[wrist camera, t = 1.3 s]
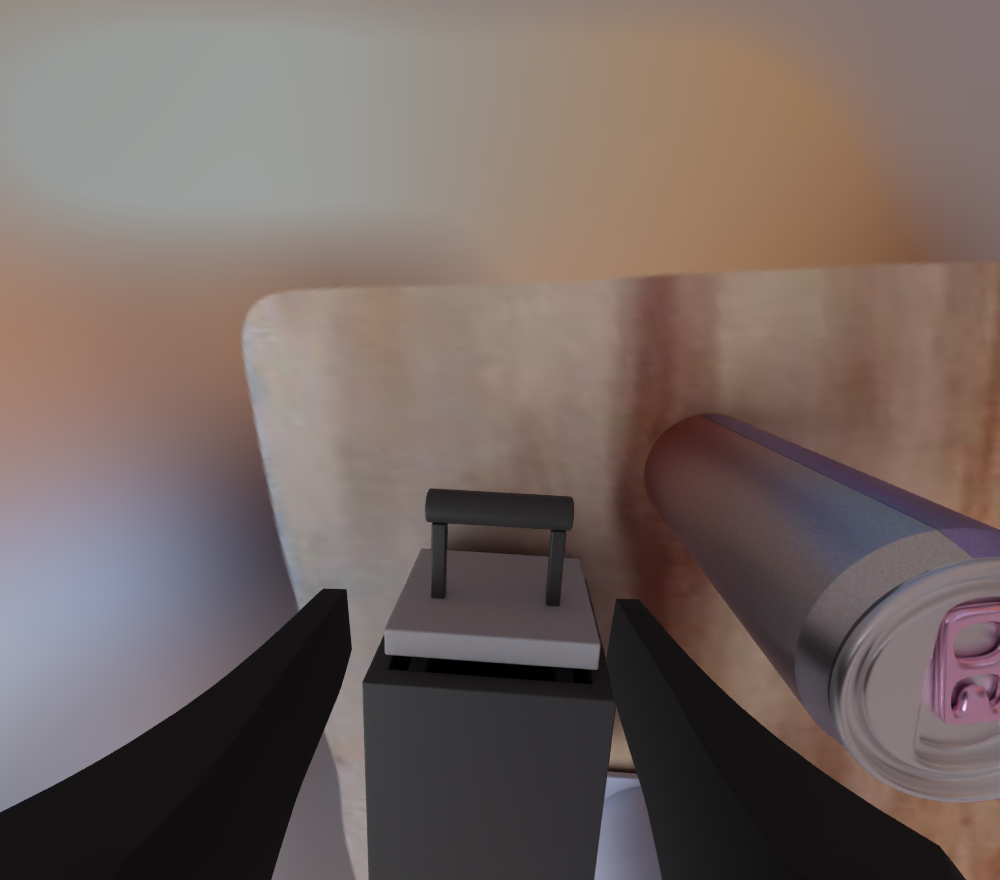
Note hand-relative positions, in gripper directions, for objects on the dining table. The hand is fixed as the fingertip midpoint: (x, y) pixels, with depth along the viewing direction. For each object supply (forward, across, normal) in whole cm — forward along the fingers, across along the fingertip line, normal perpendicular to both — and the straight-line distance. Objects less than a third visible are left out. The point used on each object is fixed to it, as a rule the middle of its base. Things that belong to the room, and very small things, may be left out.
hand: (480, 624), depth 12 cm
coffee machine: (+11, -1, +13) cm, 17 cm away
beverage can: (+12, -11, 0) cm, 16 cm away
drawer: (+10, -1, +8) cm, 13 cm away
